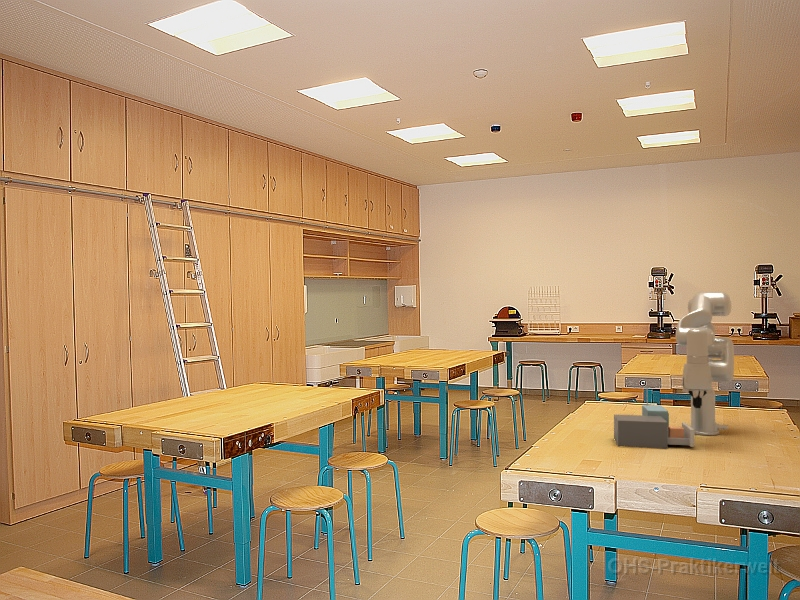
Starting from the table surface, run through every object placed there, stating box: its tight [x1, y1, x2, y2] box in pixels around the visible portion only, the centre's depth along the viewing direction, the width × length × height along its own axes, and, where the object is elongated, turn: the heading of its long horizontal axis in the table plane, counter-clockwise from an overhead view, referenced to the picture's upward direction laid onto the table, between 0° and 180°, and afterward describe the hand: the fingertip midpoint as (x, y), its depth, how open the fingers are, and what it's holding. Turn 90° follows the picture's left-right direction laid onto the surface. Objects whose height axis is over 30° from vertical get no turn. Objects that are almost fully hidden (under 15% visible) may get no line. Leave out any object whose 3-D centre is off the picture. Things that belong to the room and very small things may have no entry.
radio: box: [641, 386, 670, 433], centre depth 282 cm, size 16×9×20 cm, turn 168°
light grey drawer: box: [667, 422, 695, 448], centre depth 264 cm, size 17×16×6 cm
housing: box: [613, 414, 668, 449], centre depth 267 cm, size 18×15×10 cm
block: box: [668, 425, 684, 438], centre depth 264 cm, size 5×5×5 cm
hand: (697, 407), depth 262 cm, fingers closed
